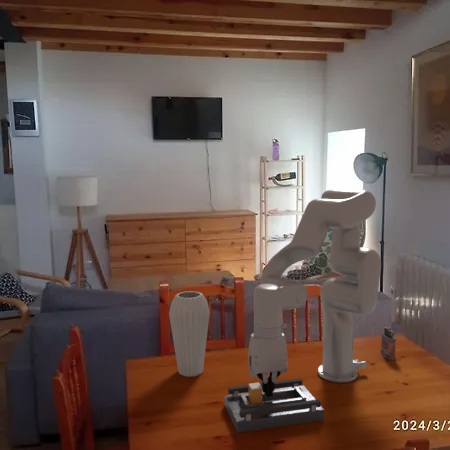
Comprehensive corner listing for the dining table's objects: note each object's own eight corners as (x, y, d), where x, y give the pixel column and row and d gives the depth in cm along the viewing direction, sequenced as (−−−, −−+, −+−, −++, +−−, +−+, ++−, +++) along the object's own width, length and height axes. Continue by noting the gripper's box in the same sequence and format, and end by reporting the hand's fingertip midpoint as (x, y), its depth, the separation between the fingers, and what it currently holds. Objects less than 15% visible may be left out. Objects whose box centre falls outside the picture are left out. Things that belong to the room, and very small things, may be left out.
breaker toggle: (259, 400, 129) (258, 382, 128) (262, 405, 126) (262, 387, 125) (248, 401, 128) (248, 383, 128) (251, 407, 125) (251, 388, 125)
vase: (205, 382, 147) (204, 301, 143) (165, 379, 149) (163, 299, 146) (214, 364, 160) (213, 289, 156) (177, 361, 162) (175, 288, 159)
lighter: (378, 351, 169) (379, 324, 168) (387, 350, 170) (388, 324, 168) (388, 360, 161) (389, 332, 160) (397, 359, 162) (398, 332, 160)
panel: (303, 394, 138) (303, 379, 137) (323, 420, 125) (324, 402, 124) (224, 405, 133) (224, 388, 132) (237, 432, 119) (237, 414, 119)
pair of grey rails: (300, 385, 138) (300, 378, 137) (320, 410, 124) (321, 402, 124) (227, 394, 133) (227, 387, 132) (241, 421, 119) (241, 413, 119)
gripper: (289, 322, 130) (288, 384, 133) (237, 328, 127) (238, 391, 129) (299, 332, 123) (299, 397, 126) (245, 338, 120) (245, 405, 122)
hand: (268, 394), depth 128 cm, fingers closed
